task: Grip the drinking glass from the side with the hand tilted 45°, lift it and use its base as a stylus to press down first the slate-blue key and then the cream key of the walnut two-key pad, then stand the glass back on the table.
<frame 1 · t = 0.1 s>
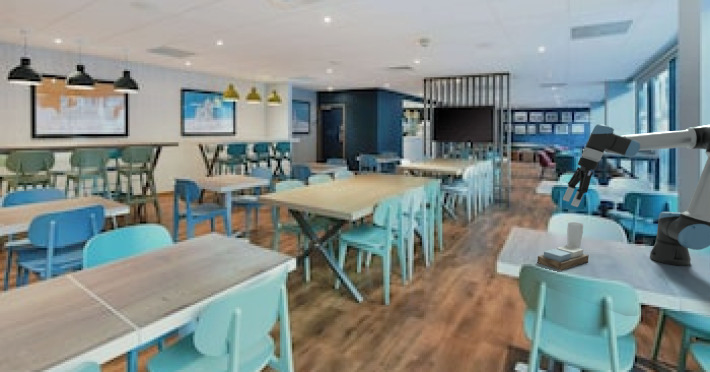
hand: (569, 203, 185), 28 cm above the table, tool tilted 20°, fingers open, 13 cm apart
keyguard frame: (562, 261, 189), on the table
drinking glass: (573, 253, 202), on the table
cream key: (569, 252, 191), point 4 cm above the table, slide at 0.0 cm
slate key: (557, 255, 186), point 4 cm above the table, slide at 0.0 cm
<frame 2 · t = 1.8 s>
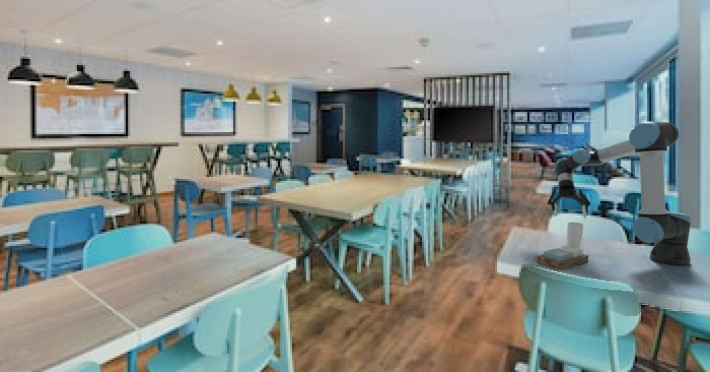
hand: (570, 216, 210), 16 cm above the table, tool tilted 45°, fingers open, 13 cm apart
nothing on the table moved.
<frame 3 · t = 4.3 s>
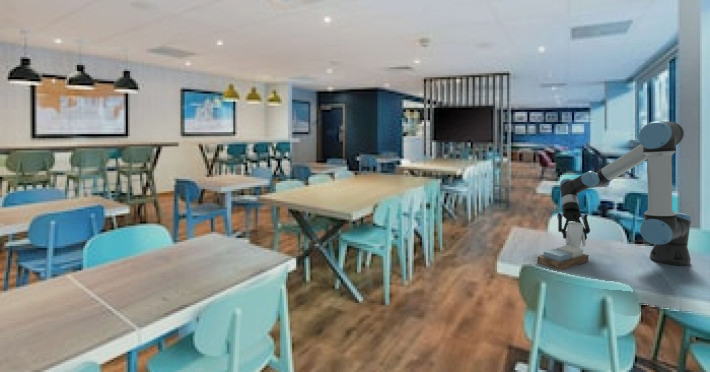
hand: (575, 244, 198), 5 cm above the table, tool tilted 45°, fingers closed on drinking glass, 6 cm apart
drinking glass: (573, 253, 202), on the table, touching gripper
everything else where it was.
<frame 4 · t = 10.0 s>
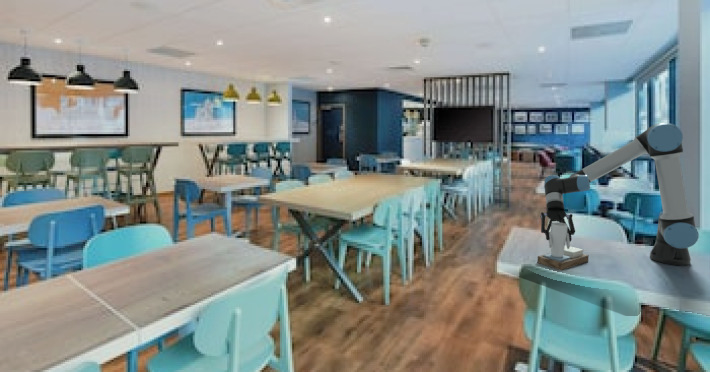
hand: (559, 246, 182), 9 cm above the table, tool tilted 45°, fingers closed on drinking glass, 6 cm apart
drinking glass: (556, 256, 186), point 4 cm above the table, touching gripper, slate key
slate key: (556, 259, 186), point 2 cm above the table, slide at -1.8 cm, touching drinking glass
everything else where it was.
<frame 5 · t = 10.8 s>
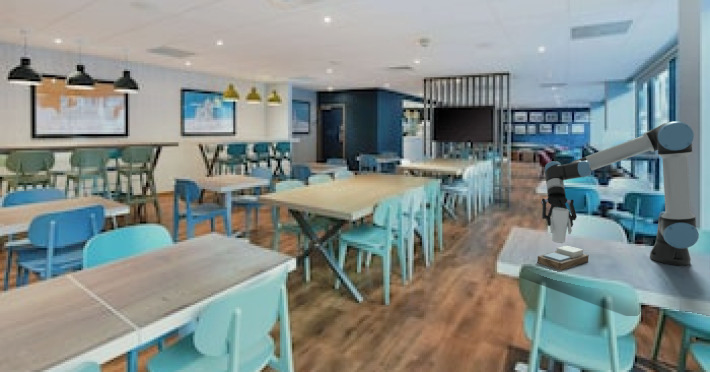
hand: (561, 232, 181), 16 cm above the table, tool tilted 45°, fingers closed on drinking glass, 6 cm apart
drinking glass: (558, 242, 185), point 10 cm above the table, touching gripper
slate key: (556, 259, 186), point 2 cm above the table, slide at -1.8 cm
everything else where it was.
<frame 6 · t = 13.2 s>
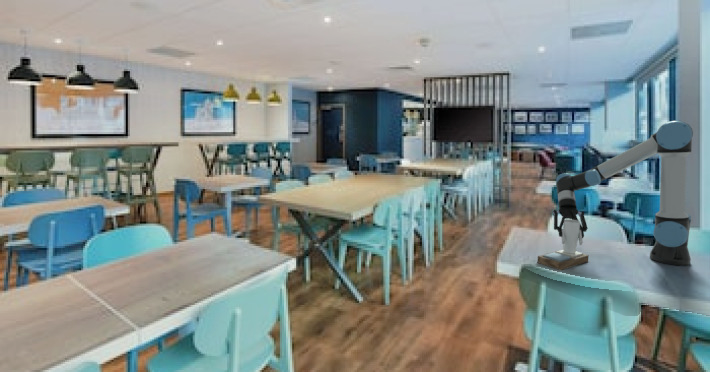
hand: (572, 243, 187), 9 cm above the table, tool tilted 45°, fingers closed on drinking glass, 6 cm apart
drinking glass: (569, 252, 191), point 4 cm above the table, touching cream key, gripper
cream key: (569, 255, 191), point 2 cm above the table, slide at -1.7 cm, touching drinking glass
everything else where it was.
when the fingers open (7 cm above the table, at t = 17.6 s): drinking glass drops 1 cm, on the table.
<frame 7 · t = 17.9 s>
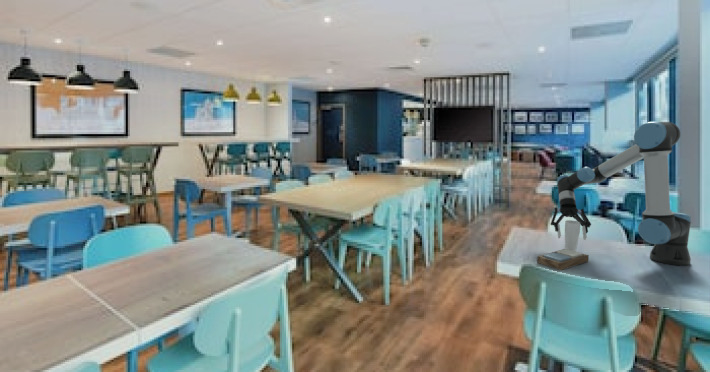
hand: (572, 237, 202), 8 cm above the table, tool tilted 45°, fingers open, 11 cm apart
drinking glass: (570, 251, 206), on the table
cream key: (569, 255, 191), point 2 cm above the table, slide at -1.8 cm
everything else where it was.
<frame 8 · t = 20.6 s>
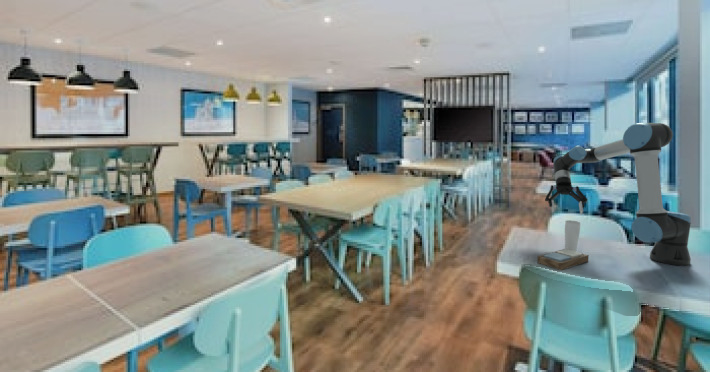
hand: (567, 212, 213), 18 cm above the table, tool tilted 45°, fingers open, 13 cm apart
nothing on the table moved.
at the end: slate key slide at -1.8 cm; cream key slide at -1.8 cm; the gripper is holding nothing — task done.
